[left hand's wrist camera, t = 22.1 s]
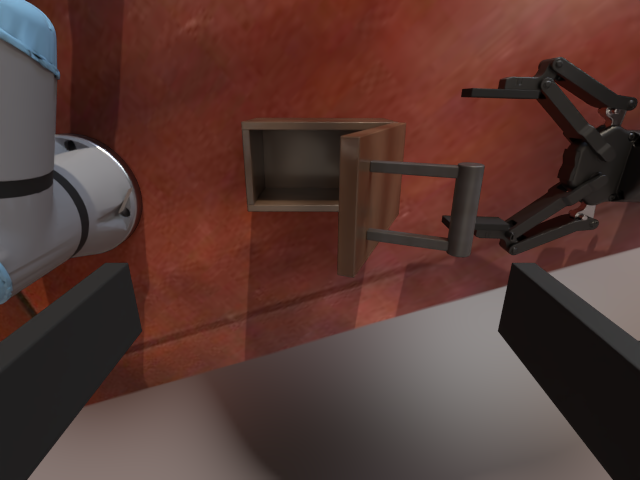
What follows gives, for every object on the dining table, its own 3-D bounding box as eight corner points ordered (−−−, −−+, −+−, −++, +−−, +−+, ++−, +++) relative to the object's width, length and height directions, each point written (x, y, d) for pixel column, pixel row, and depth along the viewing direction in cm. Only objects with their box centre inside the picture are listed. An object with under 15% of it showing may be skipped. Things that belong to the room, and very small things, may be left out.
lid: (336, 275, 24) (465, 298, 22) (339, 135, 21) (491, 141, 18) (387, 213, 38) (469, 222, 35) (393, 122, 35) (485, 124, 32)
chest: (260, 191, 47) (247, 211, 39) (256, 117, 44) (241, 121, 35) (378, 192, 47) (391, 212, 38) (383, 118, 44) (398, 122, 35)
